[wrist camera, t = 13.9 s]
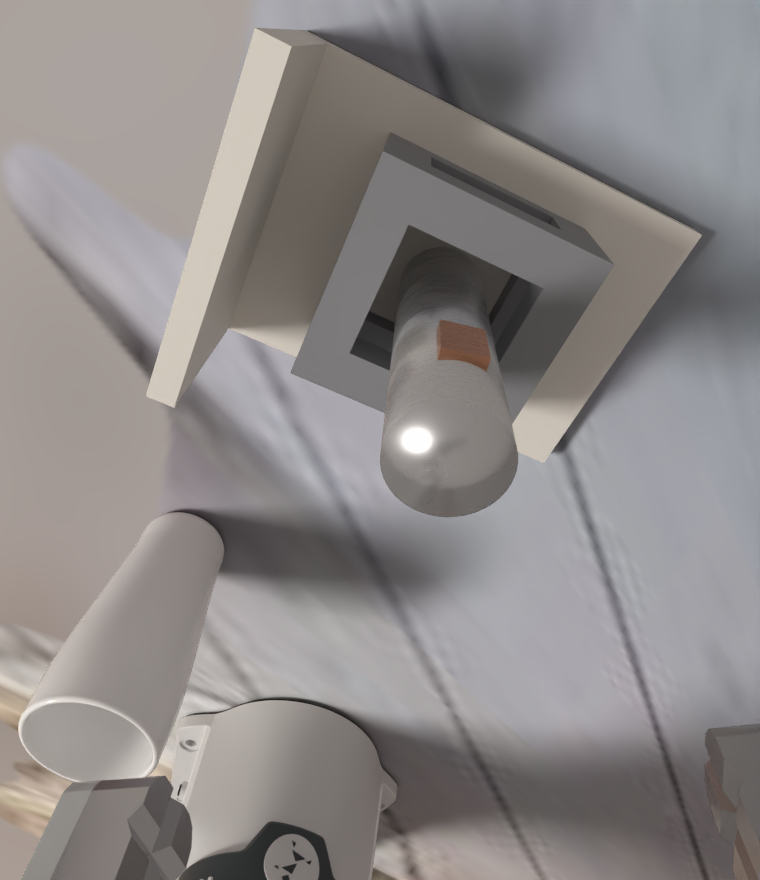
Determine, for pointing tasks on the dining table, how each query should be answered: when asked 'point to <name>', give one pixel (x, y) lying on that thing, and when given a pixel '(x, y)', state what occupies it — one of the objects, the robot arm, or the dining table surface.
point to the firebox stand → (405, 238)
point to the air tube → (445, 393)
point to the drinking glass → (127, 659)
